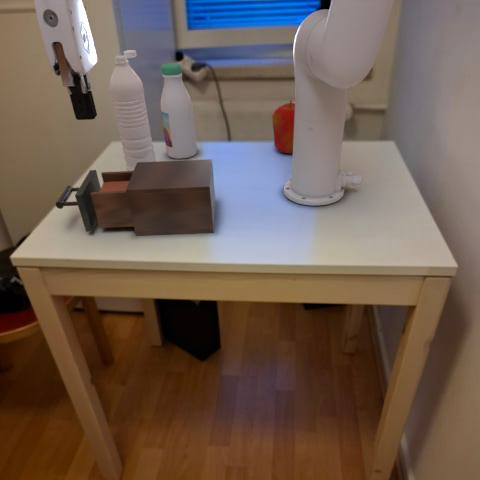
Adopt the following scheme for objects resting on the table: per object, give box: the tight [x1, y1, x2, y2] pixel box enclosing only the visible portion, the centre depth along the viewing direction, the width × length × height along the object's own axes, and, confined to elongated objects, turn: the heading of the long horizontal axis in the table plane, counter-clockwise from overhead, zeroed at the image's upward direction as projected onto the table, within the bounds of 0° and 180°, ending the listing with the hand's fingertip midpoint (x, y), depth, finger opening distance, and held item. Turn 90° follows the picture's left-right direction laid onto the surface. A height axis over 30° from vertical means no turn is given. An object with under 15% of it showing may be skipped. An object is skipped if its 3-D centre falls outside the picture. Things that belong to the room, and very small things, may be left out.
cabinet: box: [126, 159, 216, 237], centre depth 83 cm, size 15×12×9 cm
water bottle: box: [108, 49, 157, 171], centre depth 92 cm, size 9×6×25 cm
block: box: [99, 181, 129, 192], centre depth 83 cm, size 5×5×5 cm
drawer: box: [54, 169, 134, 233], centre depth 83 cm, size 18×11×7 cm, turn 91°
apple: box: [271, 99, 295, 155], centre depth 106 cm, size 9×8×12 cm
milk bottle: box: [159, 62, 198, 160], centre depth 104 cm, size 8×8×20 cm
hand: (86, 117), depth 73 cm, fingers closed
